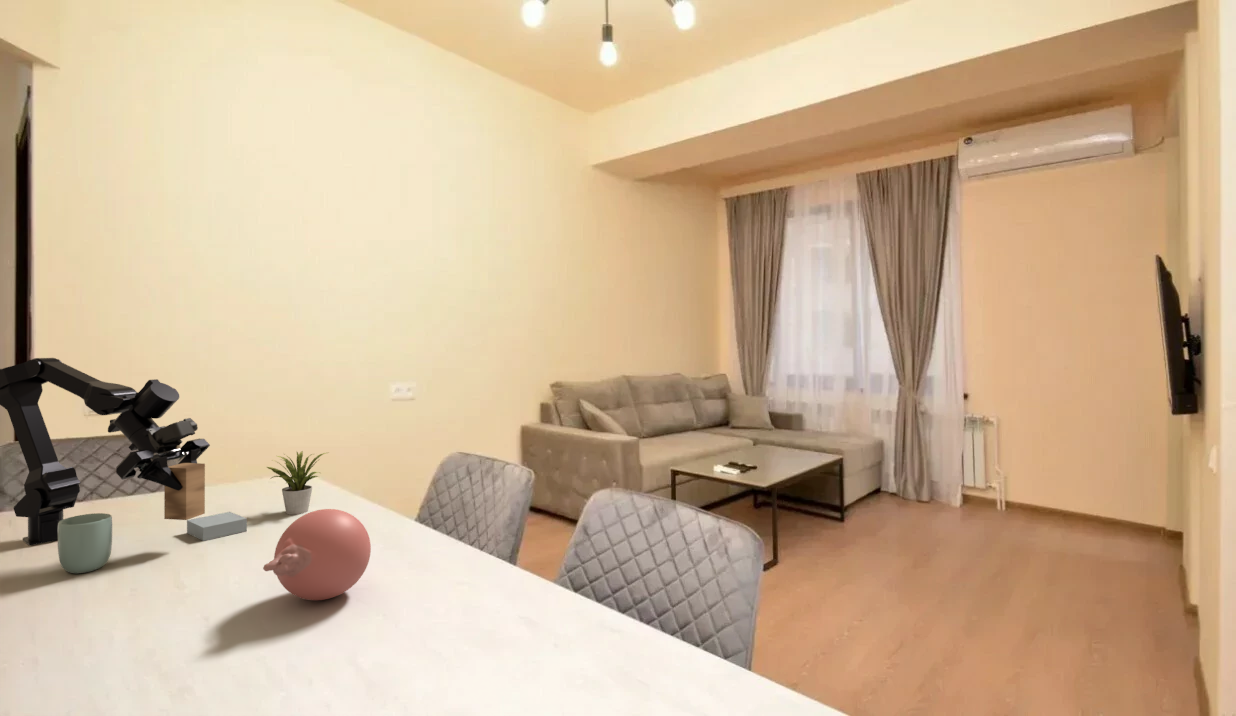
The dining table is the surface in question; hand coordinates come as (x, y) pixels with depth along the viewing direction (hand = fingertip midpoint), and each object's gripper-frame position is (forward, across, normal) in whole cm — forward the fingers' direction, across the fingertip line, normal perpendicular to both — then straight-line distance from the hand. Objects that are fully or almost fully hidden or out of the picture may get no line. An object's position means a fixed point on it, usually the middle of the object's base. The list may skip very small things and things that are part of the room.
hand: (190, 486), depth 130 cm
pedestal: (+8, +11, +11) cm, 17 cm away
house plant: (+13, +30, +6) cm, 34 cm away
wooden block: (+4, 0, +6) cm, 7 cm away
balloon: (+39, -21, -20) cm, 48 cm away
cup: (+3, -14, +17) cm, 22 cm away
